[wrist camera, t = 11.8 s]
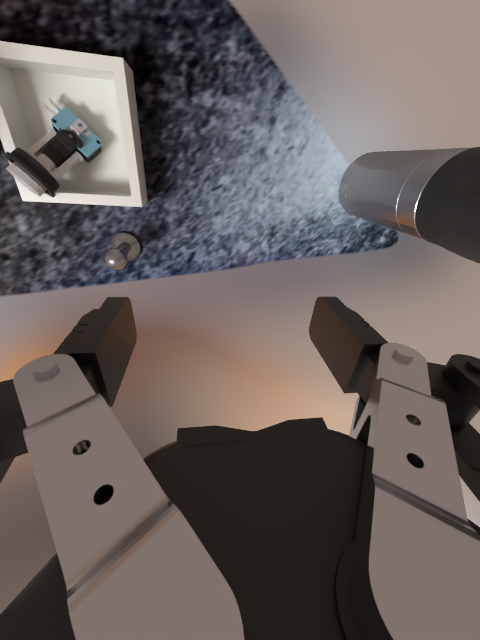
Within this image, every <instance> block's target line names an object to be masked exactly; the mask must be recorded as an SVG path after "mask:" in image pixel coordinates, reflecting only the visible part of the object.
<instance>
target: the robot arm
mask: <svg viewBox="0 0 480 640" xmlns="http://www.w3.org/2000/svg"><path fill="white" fill-rule="evenodd" d="M339 198H340V202H341V205H342V207H343V208H344V209H345V211H346V212H348V213H349V214H351V215H354V216H357V217H360V218H363V219H365V220H368V221H371V222H374V223H376V224H379V225H382V226H385V227H388V228H391V229H393V230H396V231H399V232H402V233H405V234H408V235H411V236H414V237H417V238H419V239H423V240H425V241H428V242H431V243H434V244H436V245H439V246H441V247H443V248H445V249H447V250H449V251H451V252H453V253H455V254H458V255H460V256H462V257H464V258H467V259H469V260H472V261H475V262H477V263H480V147H475V148H456V149H437V150H413V151H392V152H391V151H387V152H371V153H367V154H364V155H362V156H360V157H359V158H357V159H356V160H355V161H354V162H353V163H352V164H351V165H350V166H349V167H348V169H347V170H346V172H345V174H344V176H343V178H342V181H341V184H340V189H339ZM309 335H310V338H311V340H312V342H313V344H314V345H315V347H316V348H317V350H318V352H319V353H320V355H321V356H322V358H323V360H324V361H325V363H326V365H327V366H328V368H329V369H330V371H331V372H332V374H333V376H334V377H335V379H336V381H337V382H338V384H339V385H340V387H341V389H342V390H343V392H344V393H358V394H359V397H358V399H357V402H356V406H355V411H354V415H353V420H352V425H351V430H350V435H349V436H348V435H346V434H343V433H340V432H337V431H333V430H329V429H327V427H326V424H325V422H324V421H323V418H309V419H297V420H287V421H285V422H282V423H279V424H276V425H273V426H270V427H267V428H264V429H262V430H259V431H247V430H240V429H233V428H227V427H221V426H205V427H193V428H192V427H191V428H178V432H177V441H175V442H172V443H169V444H167V445H165V446H163V447H161V448H159V449H157V450H156V451H154V452H152V453H151V454H149V455H148V456H147V457H145V458H144V459H142V457H141V456H140V454H139V453H138V451H137V450H136V448H135V446H134V445H133V443H132V442H131V440H130V439H129V437H128V436H127V434H126V433H125V431H124V429H123V428H122V426H121V425H120V423H119V422H118V420H117V419H116V417H115V416H114V414H113V412H112V411H111V409H110V408H109V407H112V406H113V404H114V401H115V398H116V395H117V393H118V390H119V387H120V385H121V382H122V379H123V377H124V374H125V371H126V368H127V366H128V363H129V360H130V358H131V355H132V352H133V349H134V347H135V344H136V327H135V322H134V316H133V311H132V306H131V301H130V299H129V297H108V298H107V299H106V300H105V302H104V303H103V304H102V306H101V307H100V309H94V310H92V311H90V312H89V313H87V314H86V315H84V316H83V317H82V318H81V319H80V320H79V322H78V323H77V326H75V327H74V328H73V330H72V331H71V333H69V335H68V336H67V337H66V338H65V340H64V341H63V342H62V343H61V345H60V346H59V347H58V349H57V350H56V351H55V352H54V354H52V355H47V356H43V357H40V358H37V359H35V360H33V361H31V362H29V363H27V364H26V365H24V366H23V367H21V368H20V369H19V370H18V371H17V373H16V374H15V376H14V378H13V379H11V380H7V381H3V382H0V482H1V481H2V479H3V477H4V476H5V474H6V472H7V470H8V469H9V467H10V465H11V463H12V462H13V460H14V458H15V457H16V456H19V455H22V454H25V453H29V456H30V460H31V463H32V467H33V470H34V474H35V477H36V480H37V484H38V487H39V491H40V494H41V498H42V501H43V505H44V508H45V512H46V515H47V519H48V522H49V526H50V529H51V533H52V536H53V540H54V543H55V547H56V550H57V553H56V554H55V555H54V556H53V557H52V558H51V559H50V560H49V561H48V562H47V564H46V565H45V566H44V567H43V568H42V569H41V570H40V572H38V574H37V575H36V576H35V577H34V578H33V579H32V580H31V581H30V582H29V583H28V585H27V586H26V587H25V588H24V589H23V590H22V591H21V592H20V594H19V595H18V596H17V597H16V598H15V599H14V600H13V601H12V602H11V603H10V604H9V606H8V607H7V608H6V609H5V610H4V611H3V612H2V613H1V614H0V640H480V527H478V526H477V525H475V524H474V523H473V522H471V521H470V520H469V519H467V515H466V510H465V505H464V499H463V494H462V489H461V483H460V478H459V476H460V477H461V478H462V479H463V481H464V482H465V483H466V485H467V486H468V487H469V488H470V490H471V491H472V492H473V494H474V495H475V496H476V497H477V499H478V500H479V501H480V434H479V433H478V432H477V431H476V430H475V429H474V428H473V427H472V426H471V425H470V424H469V422H470V421H471V420H472V418H473V417H474V416H475V415H476V414H477V413H478V412H479V410H480V359H478V358H475V357H472V356H468V355H461V354H456V355H453V356H451V358H450V359H449V361H448V363H447V364H446V365H440V364H434V363H428V362H427V361H426V359H425V358H424V357H423V356H422V355H421V354H420V353H419V352H417V351H415V350H414V349H412V348H410V347H407V346H404V345H401V344H397V343H388V342H387V341H386V340H385V339H384V338H383V337H382V336H381V335H380V334H379V333H378V332H377V331H376V330H374V329H373V328H372V327H370V325H369V324H368V323H367V322H366V321H364V319H363V318H362V317H361V316H360V315H359V314H358V313H356V312H355V311H352V310H351V309H349V308H347V307H346V306H345V305H344V304H343V303H342V302H341V301H340V300H339V299H338V298H337V297H318V298H317V300H316V302H315V306H314V310H313V314H312V318H311V322H310V327H309Z"/></svg>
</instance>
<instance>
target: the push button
mask: <svg viewBox="0 0 480 640" xmlns="http://www.w3.org/2000/svg"><path fill="white" fill-rule="evenodd" d="M49 100H50V103H51V104H52V105H53V106H54V107H55V108H56V109H57V110H58V111H59V112H58V113H57V114H56V113H55V112H54V111H52V110H51V109H50V108H49V107H48V106H47V105H46V104H45V103H43V104H44V107H45V108H46V109H47V110H48V111H49V112H50V113H51V114H52V115H53V117H52V118H51V122H52V126H53V129H54V130H53V129H52V128H51V127H50V128H49V129H48V130H49V132H48V133H47V134H46V135H45V136H44V137H43V138H41V139H40V140H39V141H38V142H37V143H35V144H34V145H33V146H32V147H31V148H29V149H28V150H27V151H26V152H25V151H24V150H23V149H21V148H18V147H17V148H16V149H15V150H13V151H12V152H11V153H9V152H6V153H5V154H4V155H5V157H6V158H7V159H8V160H9V161H10V162H9V163H10V165H9V166H8V167H7V168H6V169H7V170H8V171H9V172H10V173H11V174H12V175H13V176H14V177H15V178H16V179H17V180H18V181H19V182H20V183H22V184H23V185H24V186H25V187H26V188H28V189H29V190H30V191H32V192H33V193H34V194H36V195H37V196H41V195H42V194H43V193H44V194H47V195H49V196H51V197H55V196H56V194H55V193H54V192H55V191H56V190H57V189H59V187H60V185H59V183H58V182H57V181H58V180H59V179H60V178H61V177H62V176H63V175H64V174H65V173H67V172H68V171H69V170H70V169H71V168H72V167H73V166H74V165H75V164H76V163H77V162H79V161H81V162H82V161H84V160H85V161H86V162H88V163H89V162H91V161H92V160H93V159H94V158H95V157H96V156H97V155H98V154H99V153H100V152H101V140H100V139H99V138H98V137H97V136H96V135H95V134H94V133H93V132H92V131H91V130H90V129H89V128H88V127H87V125H86V124H85V123H84V122H83V121H82V120H81V119H79V118H78V117H77V116H76V115H75V114H74V113H73V112H72V111H71V110H70V109H69V108H67V107H64V108H63V109H61V108H60V107H59V106H58V105H57V104H56V103H55V102H54V101H53V100H52V99H51V98H49ZM53 103H54V104H55V105H54V104H53ZM40 153H42V154H41V155H40V156H39V157H37V156H38V155H39V154H40ZM59 166H60V167H59ZM58 167H59V168H58ZM55 168H57V169H56V170H55V171H54V172H52V171H53V170H54V169H55Z"/></svg>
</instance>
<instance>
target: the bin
mask: <svg viewBox="0 0 480 640" xmlns="http://www.w3.org/2000/svg"><path fill="white" fill-rule="evenodd" d="M49 98H51V99H52V100H53V101H54V102H55V103H56V104H57V105H58V106H59V107H60V108H61V109H63V108H64V107H67V108H69V109H70V110H71V111H72V112H73V113H74V114H75V115H76V116H77V117H78V118H79V119H81V120H82V121H83V122H84V123H85V124H86V125H87V127H88V128H89V129H90V130H91V131H92V132H93V133H94V134H95V135H96V136H97V137H98V138H99V139H100V140H101V152H100V153H99V154H98V155H97V156H96V157H95V158H94V159H93V160H92V161H91V162H89V163H88V162H86V161H85V160H84V161H82V162H81V161H79V162H77V163H76V164H75V165H74V166H73V167H72V168H71V169H70V170H69V171H68V172H67V173H65V174H64V175H63V176H62V177H61V178H60V179H59V180H58V181H57V182H58V183H59V185H60V187H59V189H57V190H56V191H55V192H54V193H55V194H56V196H55V197H51V196H49V195H47V194H44V193H43V194H42V195H41V196H37V195H36V194H34V193H33V192H32V191H30V190H29V189H28V188H26V187H25V186H24V185H23V184H22V183H20V182H19V181H18V180H17V179H16V178H15V177H14V178H15V181H16V183H17V186H18V189H19V192H20V195H21V197H22V200H23V201H34V202H54V203H74V204H94V205H114V206H134V207H143V206H144V205H145V204H146V203H147V202H148V198H147V189H146V181H145V172H144V164H143V155H142V146H141V138H140V129H139V121H138V112H137V104H136V95H135V86H134V78H133V71H132V70H131V68H130V67H129V66H128V64H127V63H126V62H125V60H124V59H123V58H120V57H112V56H105V55H98V54H91V53H84V52H76V51H69V50H62V49H55V48H47V47H40V46H33V45H26V44H18V43H11V42H4V41H0V139H1V142H2V144H3V147H4V150H5V153H6V152H9V153H11V152H12V151H13V150H15V149H16V148H17V147H18V148H21V149H23V150H24V151H25V152H26V151H27V150H28V149H29V148H31V147H32V146H33V145H34V144H35V143H37V142H38V141H39V140H40V139H41V138H43V137H44V136H45V135H46V134H47V133H48V132H49V130H48V129H49V128H50V127H51V128H52V129H53V126H52V122H51V118H52V117H53V115H52V114H51V113H50V112H49V111H48V110H47V109H46V108H45V107H44V104H43V103H45V104H46V105H47V106H48V107H49V108H50V109H51V110H52V111H54V112H55V113H56V114H57V113H58V112H59V111H58V110H57V109H56V108H55V107H54V106H53V105H52V104H51V103H50V100H49ZM53 104H54V103H53ZM54 105H55V104H54ZM53 130H54V129H53ZM41 154H42V153H40V154H39V155H38V156H37V157H39V156H40V155H41ZM8 161H9V160H8ZM9 162H10V161H9ZM9 164H10V163H9ZM59 167H60V166H59ZM59 167H58V168H59ZM56 169H57V168H55V169H54V170H53V171H52V172H54V171H55V170H56Z"/></svg>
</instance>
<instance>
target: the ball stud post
mask: <svg viewBox="0 0 480 640" xmlns="http://www.w3.org/2000/svg"><path fill="white" fill-rule="evenodd" d="M140 250H141V246H140V243H139V241H138V239H137V238H136V237H135V236H133V235H132V234H130V233H126V232H121V233H118V234H116V235H115V236H114V237H113V238H112V240H111V248H110V249H108V250H107V251H106V253H105V255H104V260H105V262H106V264H107V265H108V266H109V267H111V268H113V269H121V268H123V267H125V266H126V264H127V261H128V260H133V259H135V258H136V257H137V256H138V255H139V253H140Z"/></svg>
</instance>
